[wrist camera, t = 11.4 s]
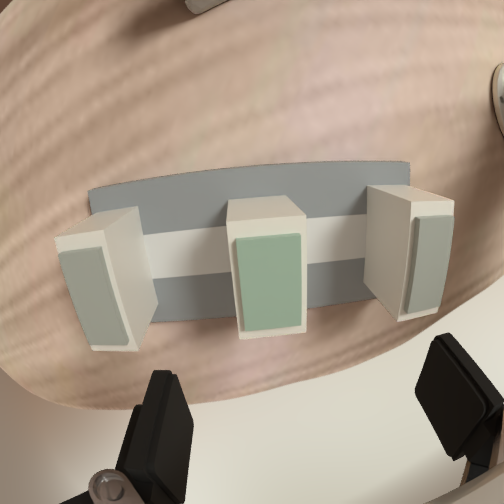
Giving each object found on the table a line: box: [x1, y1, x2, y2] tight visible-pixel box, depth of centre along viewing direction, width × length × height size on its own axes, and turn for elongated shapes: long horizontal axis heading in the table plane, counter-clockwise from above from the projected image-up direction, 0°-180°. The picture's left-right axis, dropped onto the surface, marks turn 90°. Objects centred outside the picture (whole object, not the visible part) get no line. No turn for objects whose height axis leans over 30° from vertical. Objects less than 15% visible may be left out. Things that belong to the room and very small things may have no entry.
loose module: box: [226, 195, 307, 340], centre depth 21 cm, size 4×8×8 cm, turn 4°
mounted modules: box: [54, 185, 455, 351], centre depth 21 cm, size 27×9×8 cm, turn 95°
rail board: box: [88, 161, 410, 322], centre depth 25 cm, size 28×13×2 cm, turn 95°
